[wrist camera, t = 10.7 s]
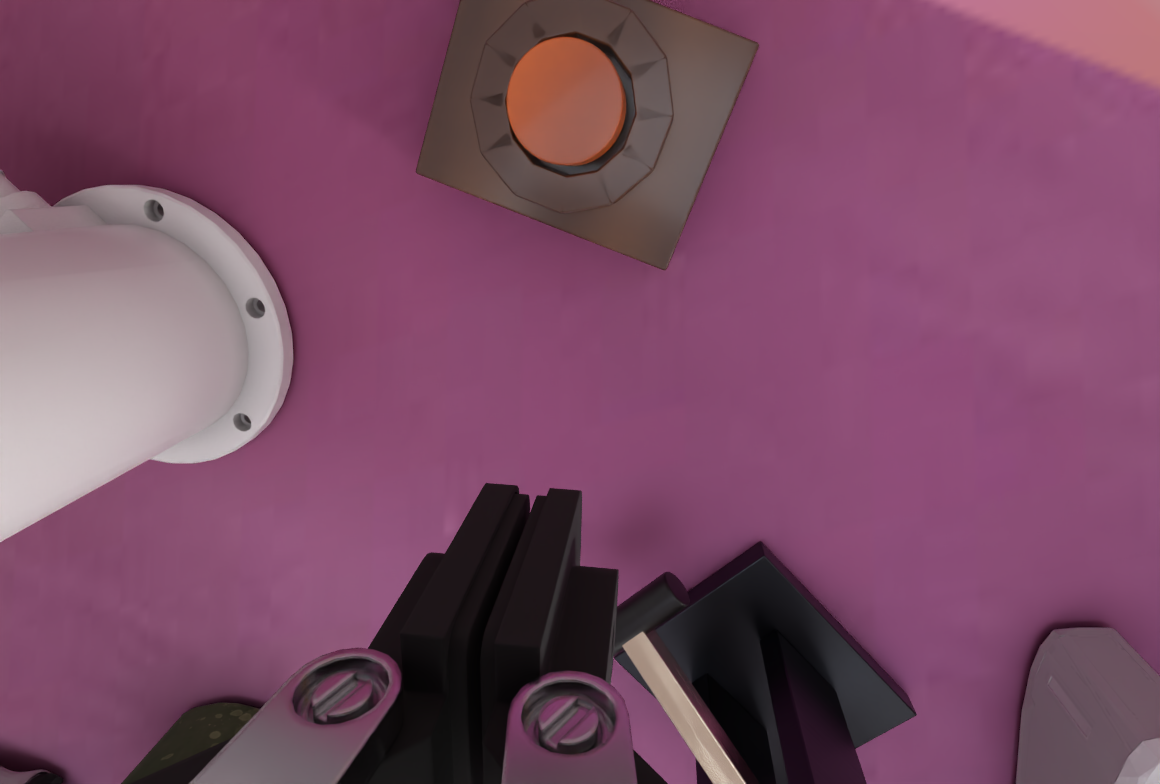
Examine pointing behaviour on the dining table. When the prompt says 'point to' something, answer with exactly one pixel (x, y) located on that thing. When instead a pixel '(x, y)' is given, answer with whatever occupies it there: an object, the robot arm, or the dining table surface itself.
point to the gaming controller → (28, 777)
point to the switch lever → (675, 678)
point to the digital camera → (1089, 712)
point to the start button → (566, 102)
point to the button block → (647, 140)
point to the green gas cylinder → (194, 735)
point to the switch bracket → (780, 674)
